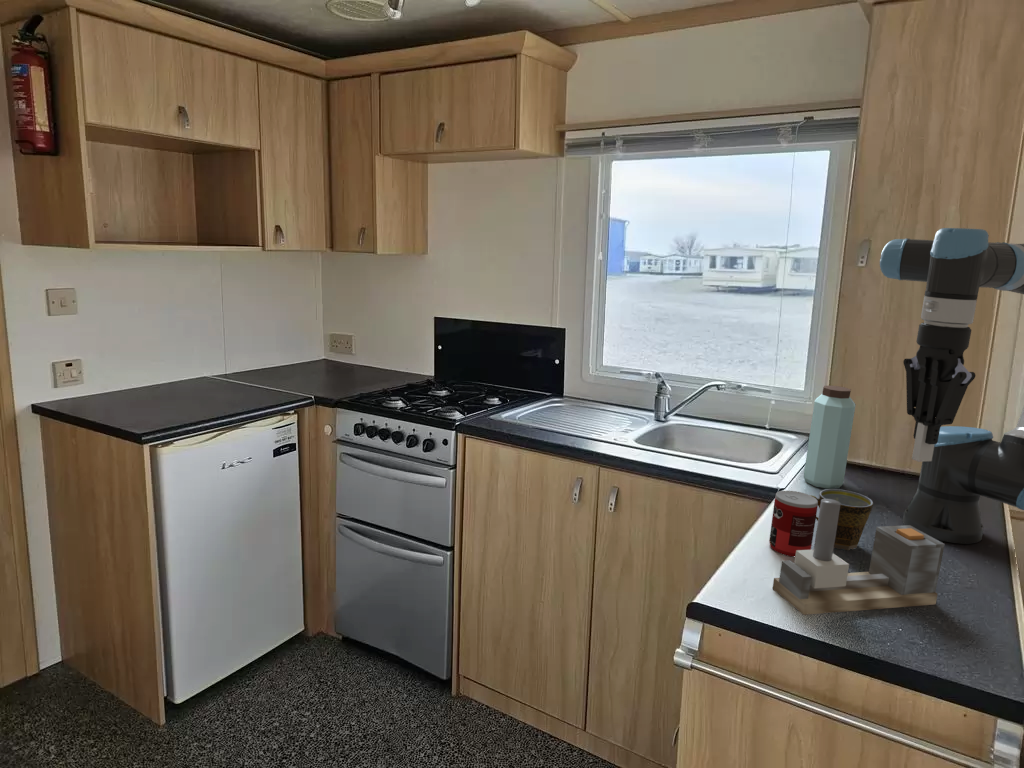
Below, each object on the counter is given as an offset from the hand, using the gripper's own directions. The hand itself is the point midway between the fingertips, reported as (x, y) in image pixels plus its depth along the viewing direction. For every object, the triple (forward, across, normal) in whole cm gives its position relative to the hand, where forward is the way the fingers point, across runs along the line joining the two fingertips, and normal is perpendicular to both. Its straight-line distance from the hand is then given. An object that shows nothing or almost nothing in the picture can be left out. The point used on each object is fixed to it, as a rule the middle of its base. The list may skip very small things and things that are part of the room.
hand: (921, 459), depth 124 cm
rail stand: (+25, +1, -10) cm, 27 cm away
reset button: (+16, +1, -1) cm, 16 cm away
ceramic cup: (+25, -20, +1) cm, 32 cm away
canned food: (+25, -18, -10) cm, 32 cm away
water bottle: (+25, -53, +24) cm, 63 cm away
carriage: (+21, +1, -17) cm, 27 cm away
